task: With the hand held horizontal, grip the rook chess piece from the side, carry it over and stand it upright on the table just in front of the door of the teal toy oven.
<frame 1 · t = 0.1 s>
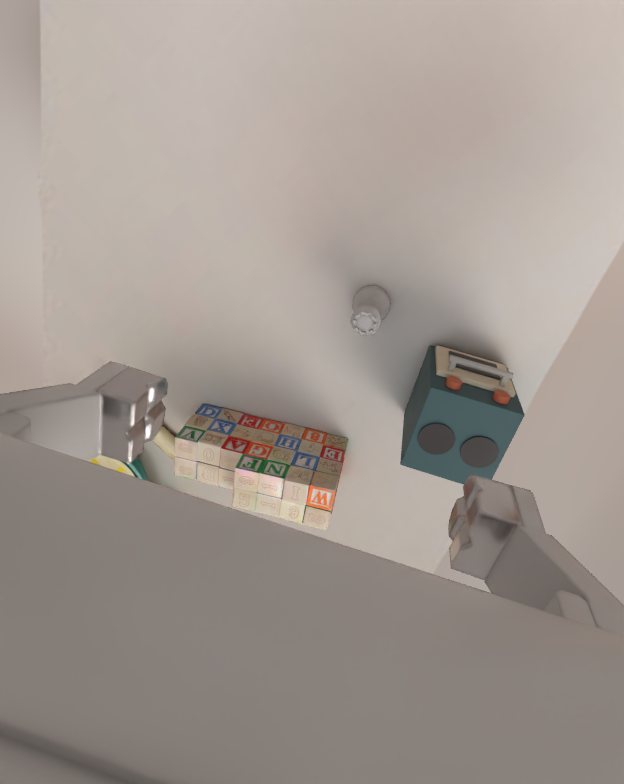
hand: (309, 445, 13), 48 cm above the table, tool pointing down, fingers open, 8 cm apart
rook chess piece: (372, 302, 60), on the table
toy oven: (453, 391, 63), on the table
toy juicer set: (144, 472, 80), on the table
stack of blocks: (273, 437, 72), on the table
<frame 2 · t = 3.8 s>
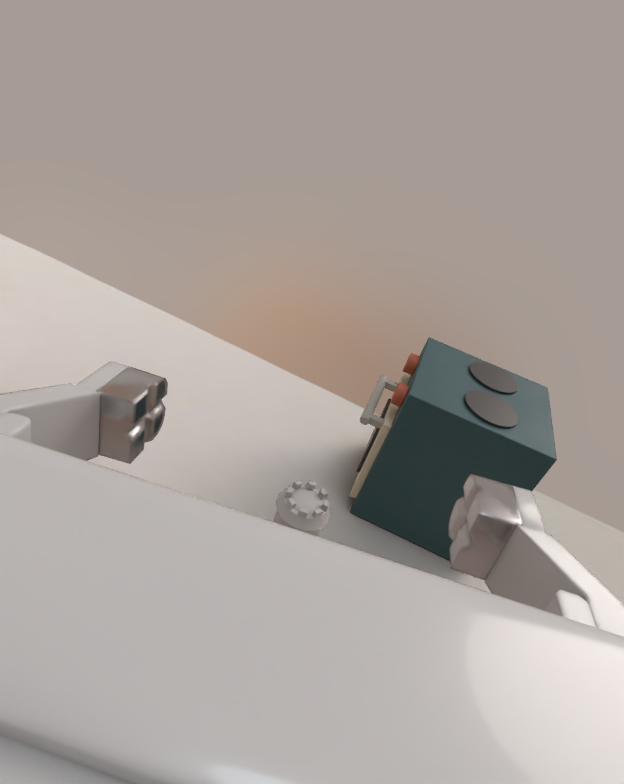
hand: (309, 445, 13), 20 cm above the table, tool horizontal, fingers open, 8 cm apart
rook chess piece: (274, 578, 33), on the table
toy oven: (418, 500, 43), on the table
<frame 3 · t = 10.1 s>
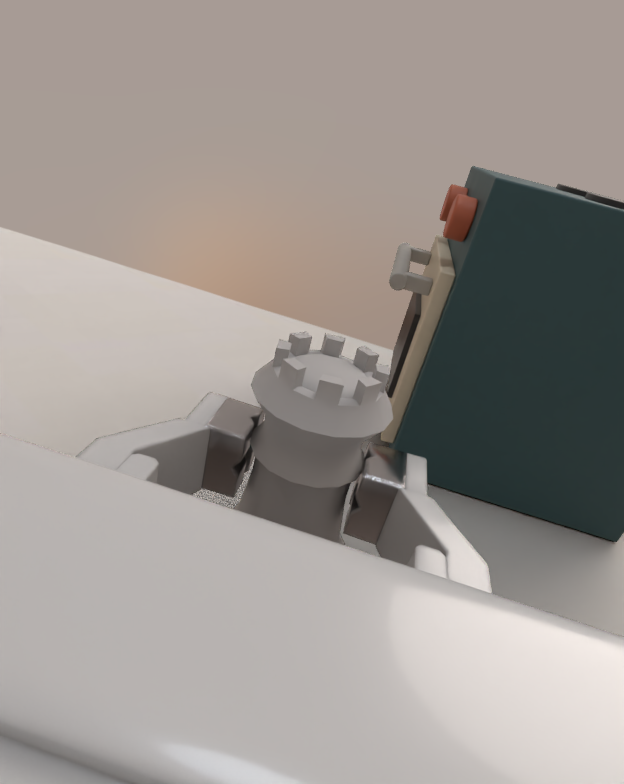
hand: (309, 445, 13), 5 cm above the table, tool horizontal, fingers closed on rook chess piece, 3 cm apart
rook chess piece: (265, 604, 15), on the table, touching gripper
toy oven: (487, 446, 25), on the table
when the fingers open (5 cm above the table, at t = 17.9 s): rook chess piece stays where it is, on the table.
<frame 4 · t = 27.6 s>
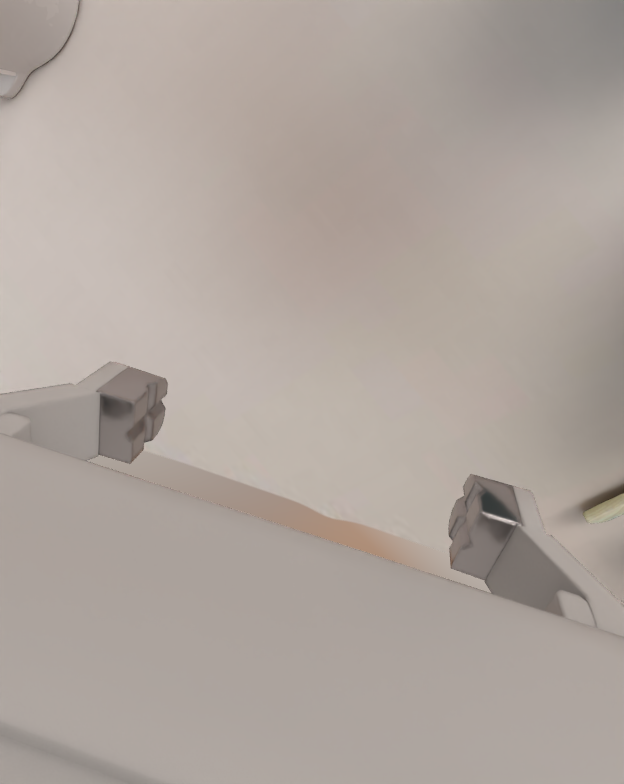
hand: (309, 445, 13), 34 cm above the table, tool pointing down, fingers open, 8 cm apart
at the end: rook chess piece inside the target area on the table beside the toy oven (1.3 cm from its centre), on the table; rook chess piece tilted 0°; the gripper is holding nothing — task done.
